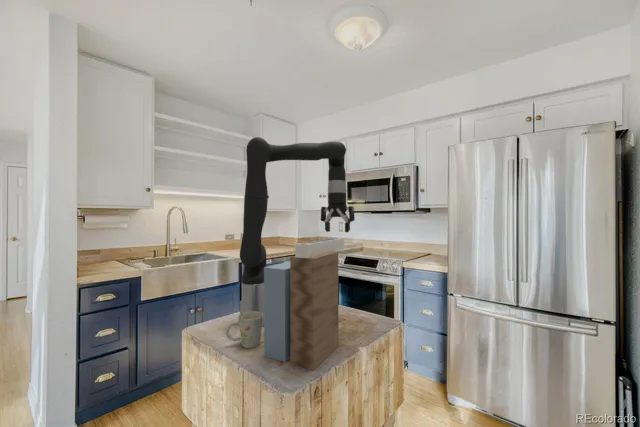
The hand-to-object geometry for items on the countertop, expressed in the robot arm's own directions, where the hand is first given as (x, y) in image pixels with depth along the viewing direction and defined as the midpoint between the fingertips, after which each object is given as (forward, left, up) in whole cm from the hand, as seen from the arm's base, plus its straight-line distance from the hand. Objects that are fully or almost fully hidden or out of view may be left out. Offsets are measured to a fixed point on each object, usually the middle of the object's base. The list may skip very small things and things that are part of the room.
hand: (337, 231), depth 119 cm
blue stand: (-5, -27, -38) cm, 46 cm away
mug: (-20, -32, -38) cm, 54 cm away
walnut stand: (+5, -27, -38) cm, 46 cm away
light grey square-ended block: (+5, -22, -6) cm, 23 cm away
